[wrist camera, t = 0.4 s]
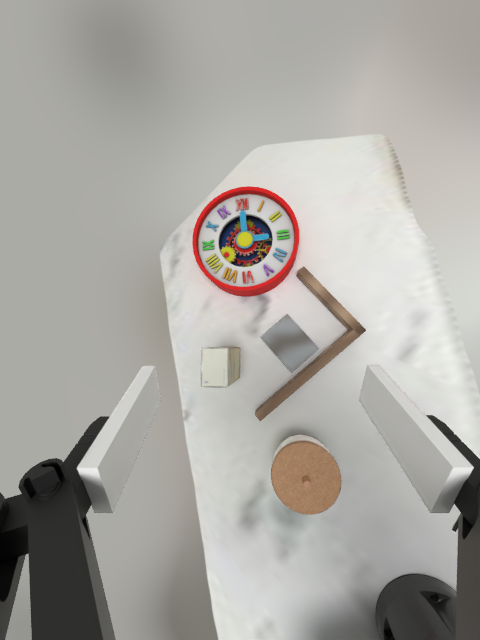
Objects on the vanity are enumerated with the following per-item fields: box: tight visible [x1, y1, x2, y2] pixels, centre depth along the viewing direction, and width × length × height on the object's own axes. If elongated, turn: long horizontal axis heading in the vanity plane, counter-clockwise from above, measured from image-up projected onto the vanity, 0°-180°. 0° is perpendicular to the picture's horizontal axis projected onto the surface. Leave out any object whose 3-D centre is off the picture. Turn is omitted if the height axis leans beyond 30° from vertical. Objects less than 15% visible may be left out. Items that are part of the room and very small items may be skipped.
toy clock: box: [193, 187, 299, 296], centre depth 48 cm, size 20×6×20 cm
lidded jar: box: [271, 435, 341, 514], centre depth 41 cm, size 11×11×9 cm
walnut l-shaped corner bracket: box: [255, 267, 366, 421], centre depth 47 cm, size 16×25×3 cm, turn 131°
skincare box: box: [201, 347, 240, 388], centre depth 43 cm, size 6×4×12 cm
